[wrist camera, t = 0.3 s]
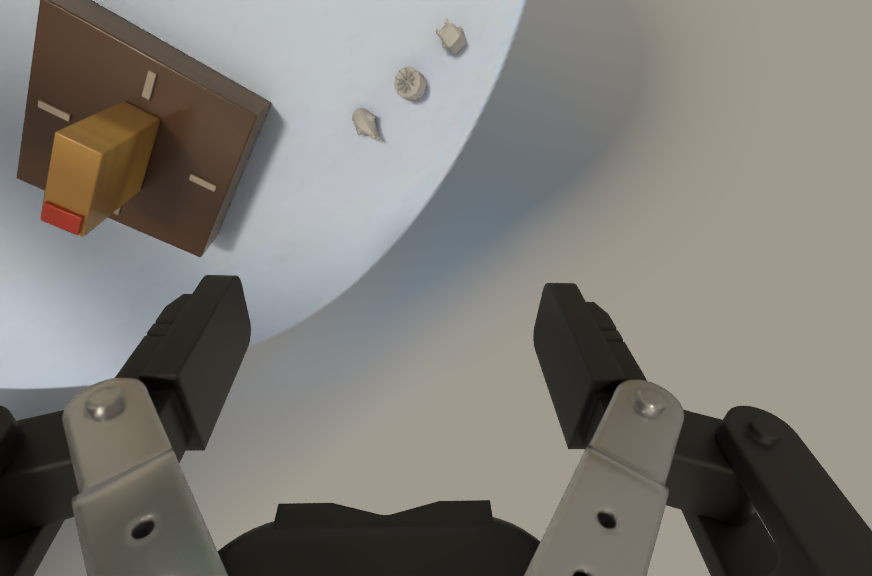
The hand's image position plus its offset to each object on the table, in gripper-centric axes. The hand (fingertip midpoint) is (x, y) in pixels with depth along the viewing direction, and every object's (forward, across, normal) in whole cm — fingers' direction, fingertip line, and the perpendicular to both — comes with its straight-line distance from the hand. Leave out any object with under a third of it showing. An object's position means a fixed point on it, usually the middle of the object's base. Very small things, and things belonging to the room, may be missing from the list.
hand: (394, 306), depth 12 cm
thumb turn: (+15, +14, +1) cm, 21 cm away
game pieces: (+17, 0, -3) cm, 17 cm away
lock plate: (+18, +14, +1) cm, 23 cm away
